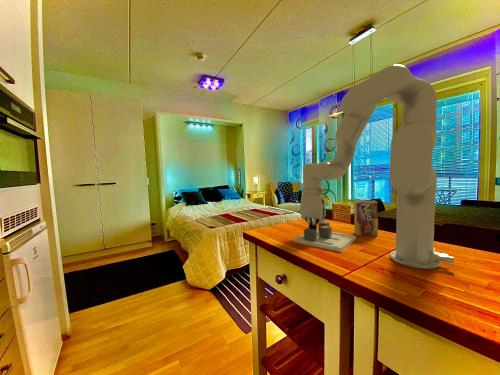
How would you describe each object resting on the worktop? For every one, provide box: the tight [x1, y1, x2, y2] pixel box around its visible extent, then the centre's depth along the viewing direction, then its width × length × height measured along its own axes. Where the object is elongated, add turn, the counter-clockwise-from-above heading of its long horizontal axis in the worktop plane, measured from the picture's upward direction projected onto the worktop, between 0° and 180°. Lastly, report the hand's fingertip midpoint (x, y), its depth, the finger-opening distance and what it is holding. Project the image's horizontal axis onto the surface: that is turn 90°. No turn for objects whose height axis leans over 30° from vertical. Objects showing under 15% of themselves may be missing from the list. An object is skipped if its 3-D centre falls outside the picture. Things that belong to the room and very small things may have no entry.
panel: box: [294, 229, 357, 253], centre depth 91 cm, size 19×18×2 cm
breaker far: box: [317, 221, 331, 231], centre depth 98 cm, size 4×3×4 cm
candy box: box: [353, 200, 379, 236], centre depth 97 cm, size 9×4×15 cm, turn 79°
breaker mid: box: [319, 226, 333, 238], centre depth 91 cm, size 4×3×4 cm
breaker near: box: [303, 227, 317, 241], centre depth 88 cm, size 4×3×4 cm
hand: (312, 233), depth 95 cm, fingers closed
